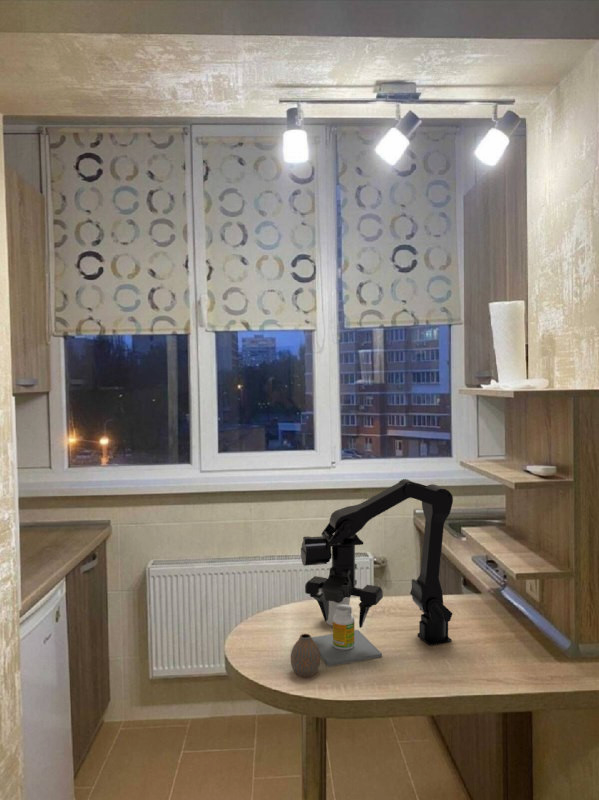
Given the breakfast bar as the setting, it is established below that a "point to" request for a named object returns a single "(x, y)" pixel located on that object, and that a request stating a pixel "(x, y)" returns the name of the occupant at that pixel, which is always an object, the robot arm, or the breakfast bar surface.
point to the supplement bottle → (343, 628)
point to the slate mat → (336, 656)
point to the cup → (333, 607)
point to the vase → (305, 656)
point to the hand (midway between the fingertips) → (343, 623)
